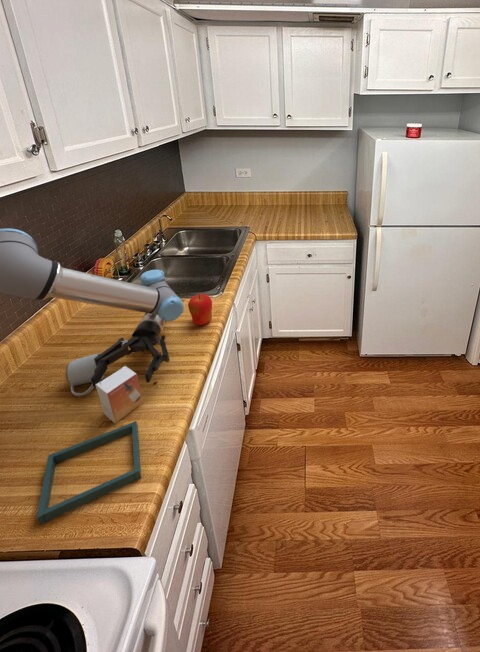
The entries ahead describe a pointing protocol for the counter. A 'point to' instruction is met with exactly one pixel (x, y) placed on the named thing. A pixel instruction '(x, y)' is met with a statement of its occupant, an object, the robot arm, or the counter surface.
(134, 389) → the small box
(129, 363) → the counter surface
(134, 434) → the empty rectangular frame
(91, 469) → the counter surface
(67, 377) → the ceramic mug
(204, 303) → the apple
